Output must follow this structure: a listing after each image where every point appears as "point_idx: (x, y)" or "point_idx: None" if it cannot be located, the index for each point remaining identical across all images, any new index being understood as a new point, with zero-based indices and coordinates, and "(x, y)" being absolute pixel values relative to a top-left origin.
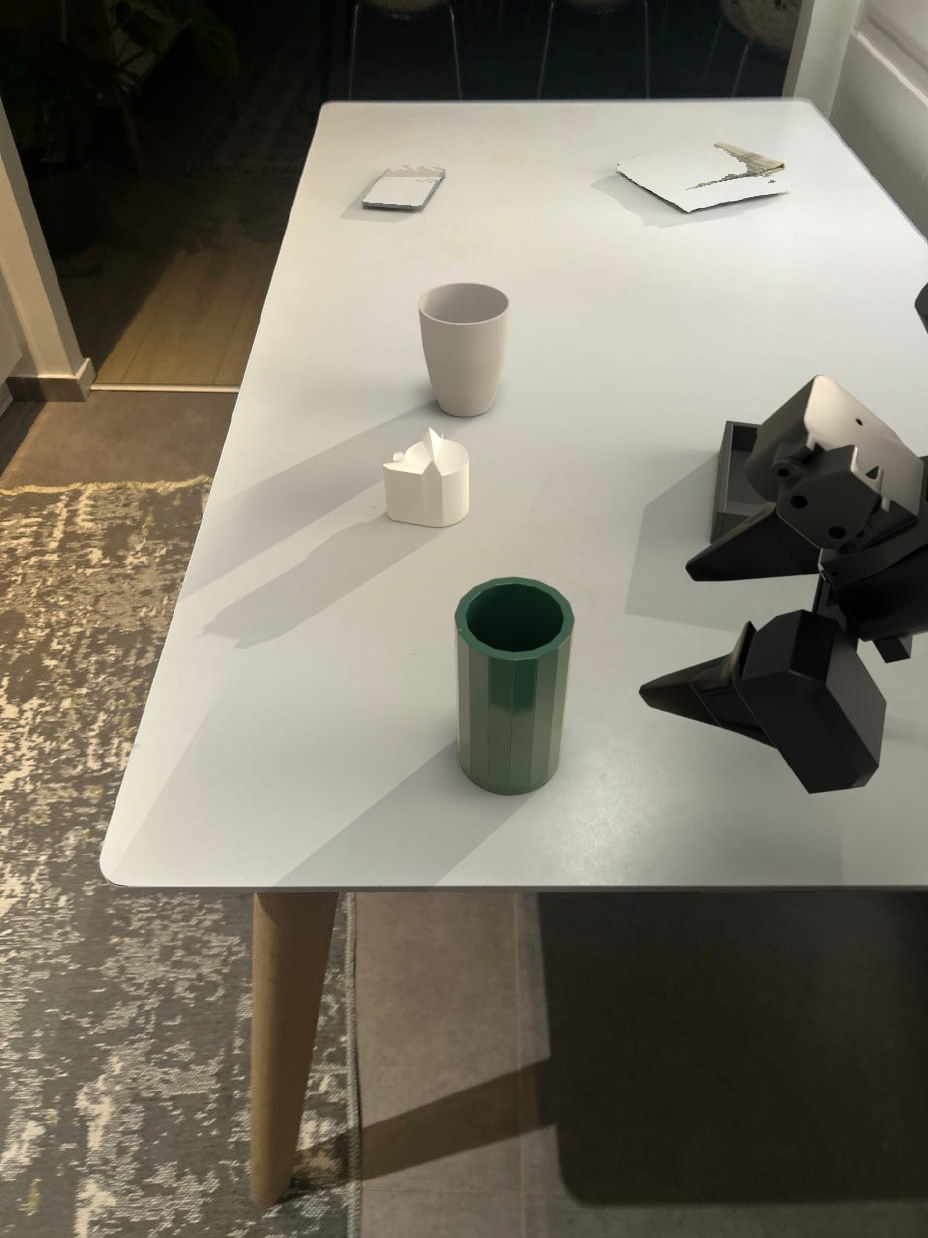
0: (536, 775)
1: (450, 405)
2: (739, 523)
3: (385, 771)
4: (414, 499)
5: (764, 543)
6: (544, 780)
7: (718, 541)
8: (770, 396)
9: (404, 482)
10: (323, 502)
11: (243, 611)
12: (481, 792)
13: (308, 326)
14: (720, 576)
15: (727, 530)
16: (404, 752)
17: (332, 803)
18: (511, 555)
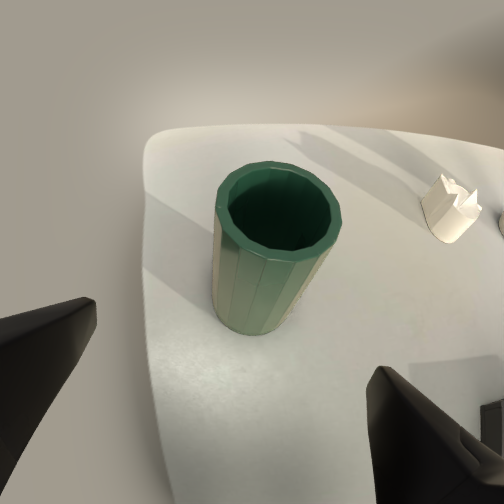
0: (221, 314)
1: (502, 221)
2: (496, 419)
3: None
4: (434, 202)
5: (422, 482)
6: (226, 324)
7: (424, 400)
8: None
9: (439, 189)
10: (413, 169)
11: (321, 143)
12: None
13: (499, 160)
14: (372, 423)
15: (490, 413)
16: None
17: (193, 201)
18: (428, 275)
